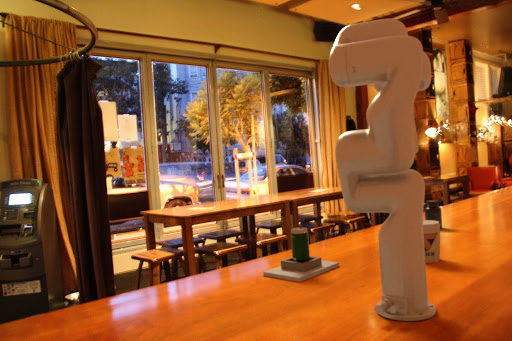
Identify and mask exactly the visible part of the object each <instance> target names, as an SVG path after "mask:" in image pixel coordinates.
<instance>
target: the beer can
mask: <svg viewBox="0 0 512 341" xmlns="http://www.w3.org/2000/svg"><path fill="white" fill-rule="evenodd" d="M309 239H310V238H309V231H308V228H307V227H294V228H293V227H292V228H291V230H290V240H291V243H290V244H291V257H292V259H293V262H300V263H304V262H307V261H310V256H311V254H310V241H309Z"/></svg>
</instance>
